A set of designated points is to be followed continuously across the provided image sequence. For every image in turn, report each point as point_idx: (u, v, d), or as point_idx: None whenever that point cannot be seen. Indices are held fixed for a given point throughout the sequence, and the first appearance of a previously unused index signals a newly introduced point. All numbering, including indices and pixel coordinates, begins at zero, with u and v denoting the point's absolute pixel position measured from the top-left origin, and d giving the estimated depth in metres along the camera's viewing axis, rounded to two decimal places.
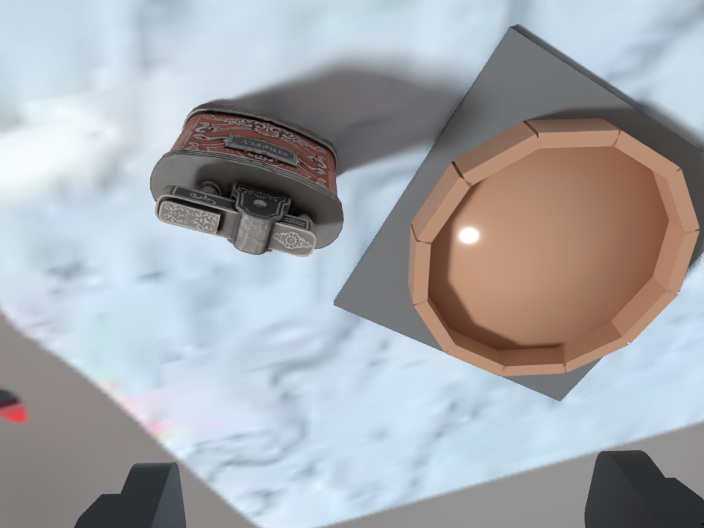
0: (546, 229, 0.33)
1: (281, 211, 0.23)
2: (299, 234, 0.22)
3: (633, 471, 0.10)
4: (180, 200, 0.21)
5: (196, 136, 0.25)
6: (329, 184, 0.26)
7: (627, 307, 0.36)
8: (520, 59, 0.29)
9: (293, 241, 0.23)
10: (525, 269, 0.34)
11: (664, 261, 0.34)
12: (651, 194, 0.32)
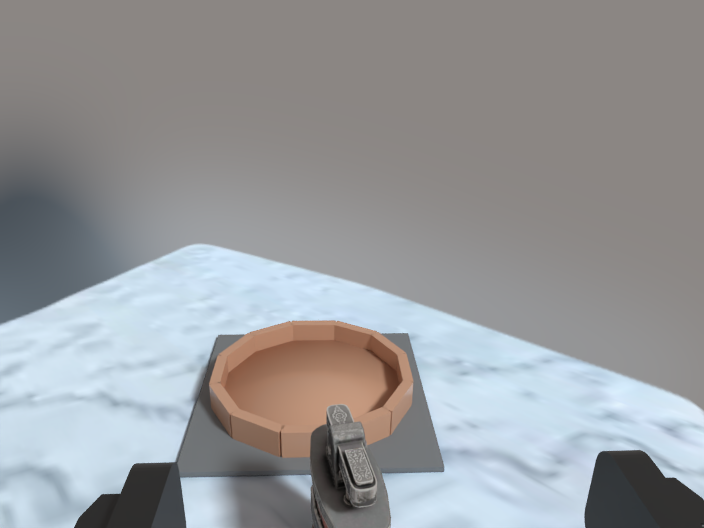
0: (295, 391, 0.46)
1: (327, 436, 0.29)
2: (331, 413, 0.30)
3: (633, 471, 0.10)
4: (350, 477, 0.26)
5: None
6: None
7: (319, 338, 0.53)
8: (192, 458, 0.39)
9: (339, 414, 0.30)
10: (329, 386, 0.47)
11: (278, 338, 0.52)
12: (244, 365, 0.49)
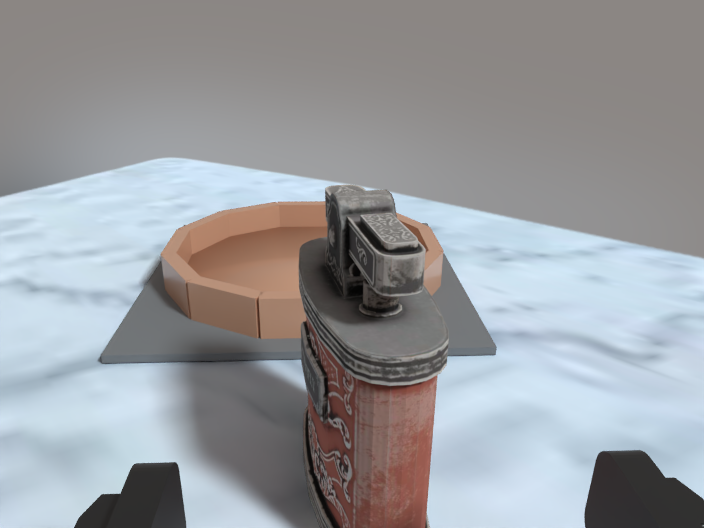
0: (282, 271, 0.34)
1: (327, 223, 0.17)
2: (334, 192, 0.17)
3: (633, 471, 0.10)
4: (374, 243, 0.13)
5: (348, 437, 0.15)
6: None
7: (313, 223, 0.41)
8: (130, 340, 0.27)
9: None
10: None
11: (260, 221, 0.40)
12: (214, 247, 0.37)
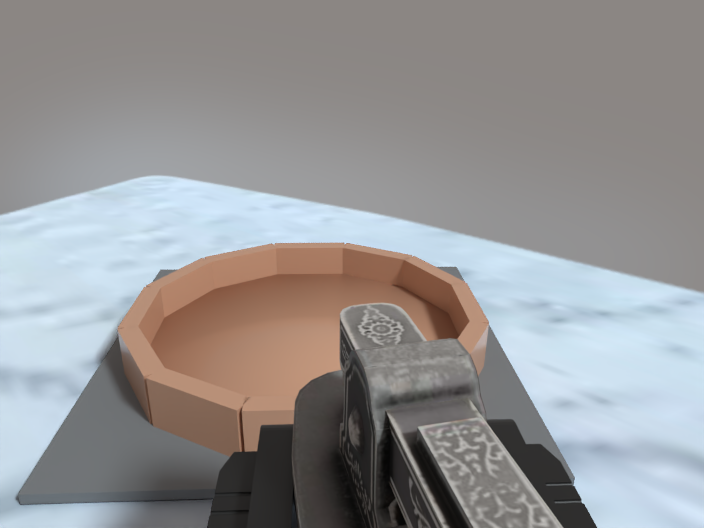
0: (278, 344, 0.26)
1: (344, 391, 0.09)
2: (356, 324, 0.10)
3: None
4: None
5: None
6: None
7: (318, 270, 0.33)
8: (64, 465, 0.20)
9: (380, 326, 0.10)
10: (336, 337, 0.27)
11: (253, 269, 0.32)
12: (193, 306, 0.29)
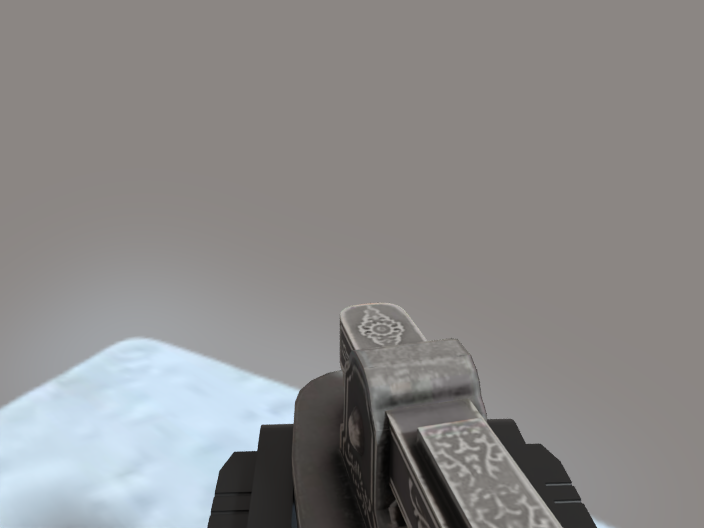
0: None
1: (345, 391, 0.09)
2: (356, 323, 0.10)
3: None
4: None
5: None
6: None
7: None
8: None
9: (381, 326, 0.10)
10: None
11: None
12: None
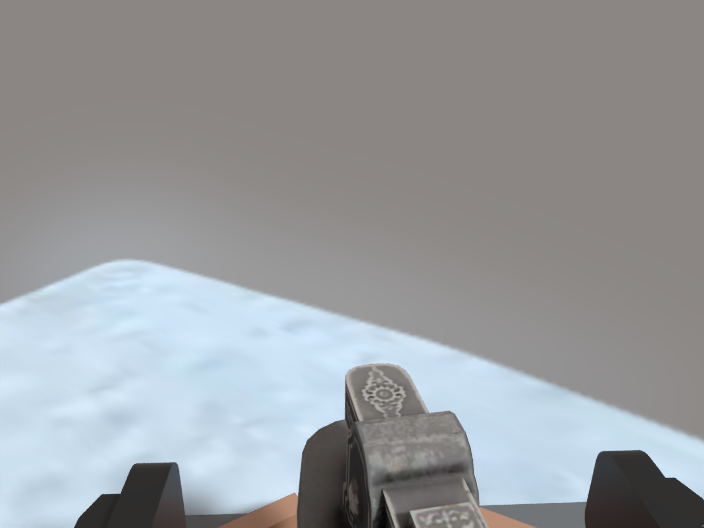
0: None
1: (347, 455, 0.10)
2: (360, 388, 0.10)
3: (633, 471, 0.10)
4: None
5: None
6: None
7: None
8: None
9: (384, 390, 0.10)
10: None
11: None
12: None
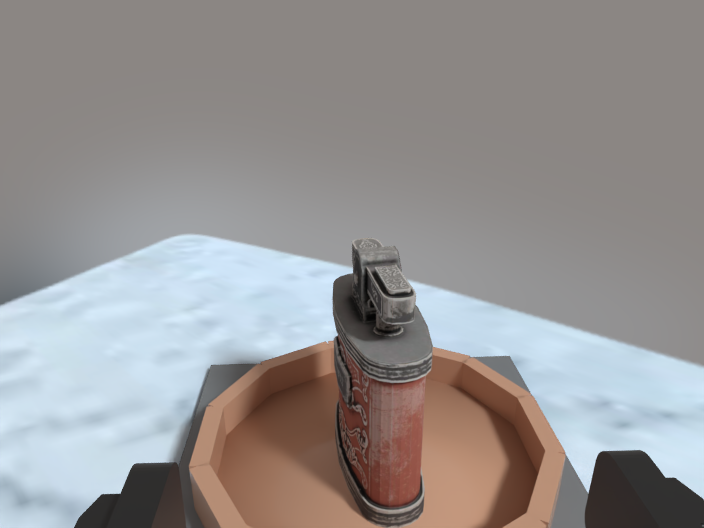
0: None
1: (353, 268, 0.24)
2: (358, 244, 0.24)
3: (633, 471, 0.10)
4: (382, 289, 0.20)
5: (365, 418, 0.22)
6: None
7: None
8: None
9: (368, 245, 0.24)
10: None
11: (308, 370, 0.32)
12: (253, 419, 0.29)
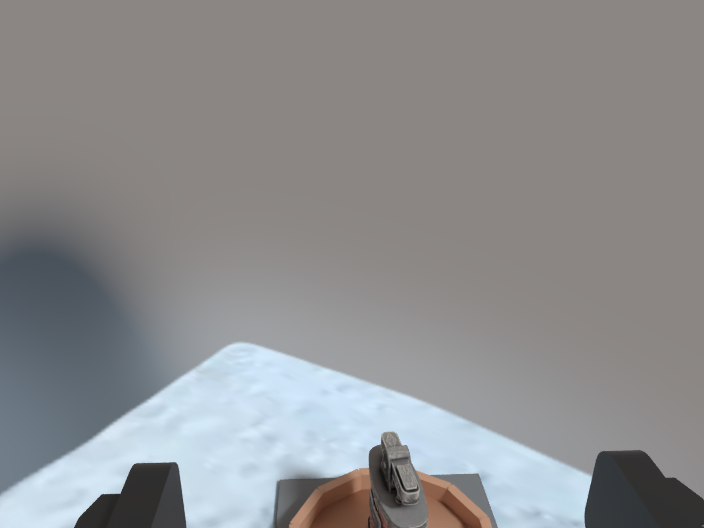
0: None
1: (382, 455, 0.41)
2: (385, 438, 0.42)
3: (633, 471, 0.10)
4: (401, 484, 0.38)
5: None
6: None
7: None
8: None
9: (391, 439, 0.42)
10: None
11: (347, 490, 0.49)
12: None
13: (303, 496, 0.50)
